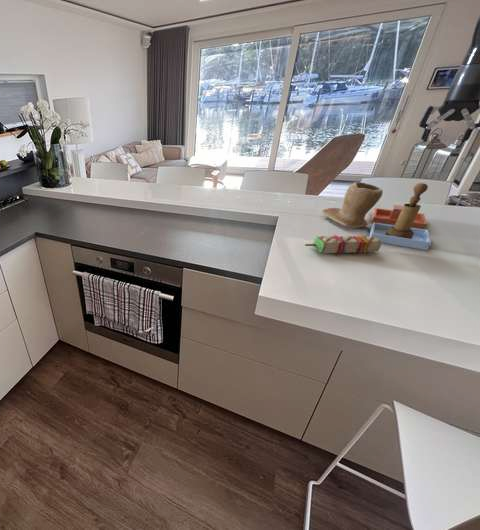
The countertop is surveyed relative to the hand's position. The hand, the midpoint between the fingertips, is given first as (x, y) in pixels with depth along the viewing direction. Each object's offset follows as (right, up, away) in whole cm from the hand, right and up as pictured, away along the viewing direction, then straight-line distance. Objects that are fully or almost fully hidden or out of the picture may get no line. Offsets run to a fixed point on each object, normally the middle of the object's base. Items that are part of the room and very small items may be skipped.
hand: (442, 141), depth 92 cm
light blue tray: (-11, -31, +4) cm, 33 cm away
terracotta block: (0, -23, +15) cm, 28 cm away
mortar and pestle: (-10, -31, +4) cm, 33 cm away
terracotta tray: (0, -23, +16) cm, 28 cm away
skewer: (-34, -35, 0) cm, 49 cm away
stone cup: (-16, -23, +19) cm, 34 cm away
